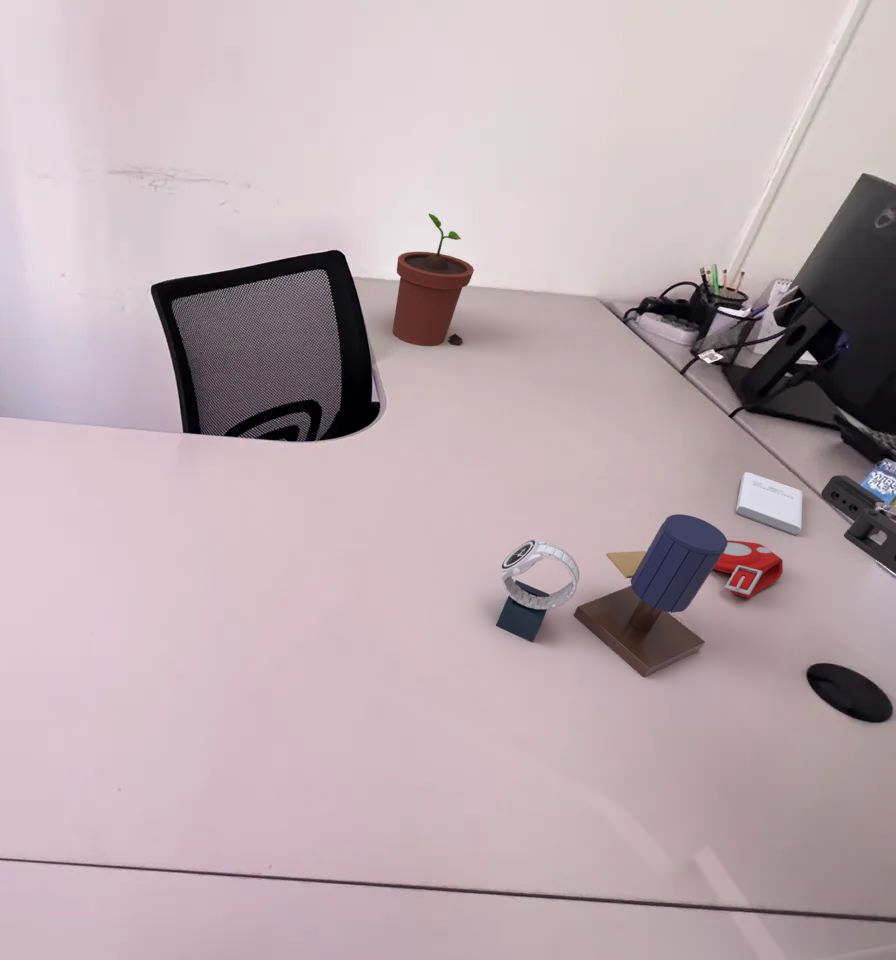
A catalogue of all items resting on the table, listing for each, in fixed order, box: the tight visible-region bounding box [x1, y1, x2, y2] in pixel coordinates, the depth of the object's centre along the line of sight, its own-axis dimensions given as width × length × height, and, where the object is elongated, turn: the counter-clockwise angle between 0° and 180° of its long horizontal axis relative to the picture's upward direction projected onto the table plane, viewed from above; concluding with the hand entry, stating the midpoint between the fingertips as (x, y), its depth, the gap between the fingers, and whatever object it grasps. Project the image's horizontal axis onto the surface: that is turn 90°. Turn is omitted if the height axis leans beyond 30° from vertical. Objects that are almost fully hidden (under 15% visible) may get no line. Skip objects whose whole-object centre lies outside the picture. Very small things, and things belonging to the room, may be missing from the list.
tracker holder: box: [713, 539, 784, 599], centre depth 89 cm, size 12×4×10 cm
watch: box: [495, 539, 580, 643], centre depth 77 cm, size 6×8×11 cm
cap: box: [605, 513, 728, 613], centre depth 75 cm, size 10×6×9 cm, turn 9°
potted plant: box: [392, 213, 475, 347], centre depth 144 cm, size 18×22×25 cm
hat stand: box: [573, 585, 706, 678], centre depth 76 cm, size 10×10×15 cm
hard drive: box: [735, 471, 803, 536], centre depth 105 cm, size 2×8×12 cm
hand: (874, 482), depth 54 cm, fingers open, 8 cm apart
